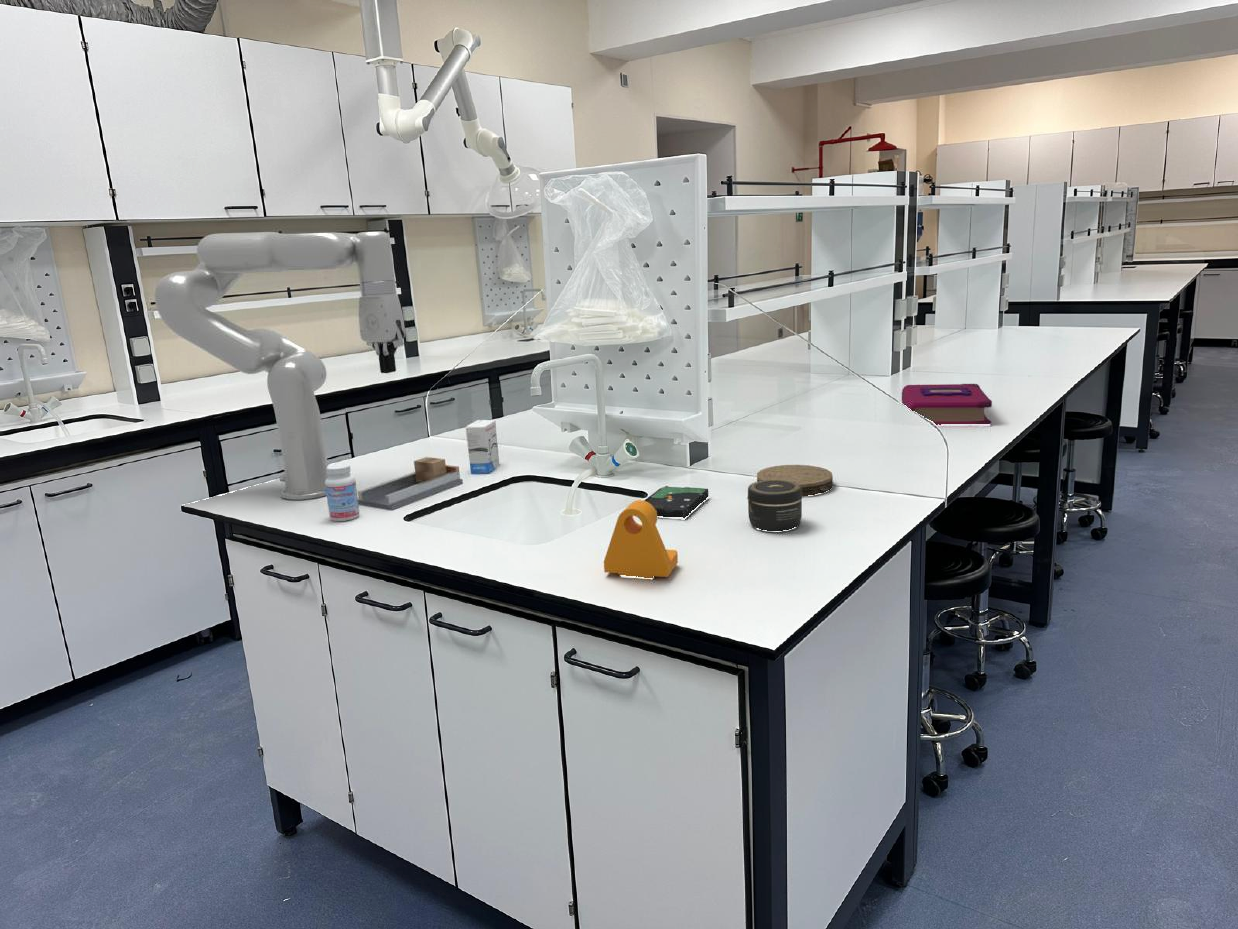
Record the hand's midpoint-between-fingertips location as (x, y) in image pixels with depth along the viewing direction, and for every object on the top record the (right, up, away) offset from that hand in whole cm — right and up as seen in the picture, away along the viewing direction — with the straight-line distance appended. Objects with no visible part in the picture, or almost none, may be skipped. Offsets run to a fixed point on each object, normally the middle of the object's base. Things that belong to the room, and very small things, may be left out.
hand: (388, 372), depth 195 cm
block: (+8, -25, +6) cm, 27 cm away
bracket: (+56, -39, -51) cm, 85 cm away
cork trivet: (+90, -26, -10) cm, 94 cm away
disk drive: (+63, -30, -19) cm, 73 cm away
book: (+143, -8, +49) cm, 152 cm away
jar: (+81, -32, -33) cm, 94 cm away
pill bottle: (-5, -32, -14) cm, 35 cm away
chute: (+5, -27, +1) cm, 28 cm away
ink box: (+19, -22, +19) cm, 35 cm away
